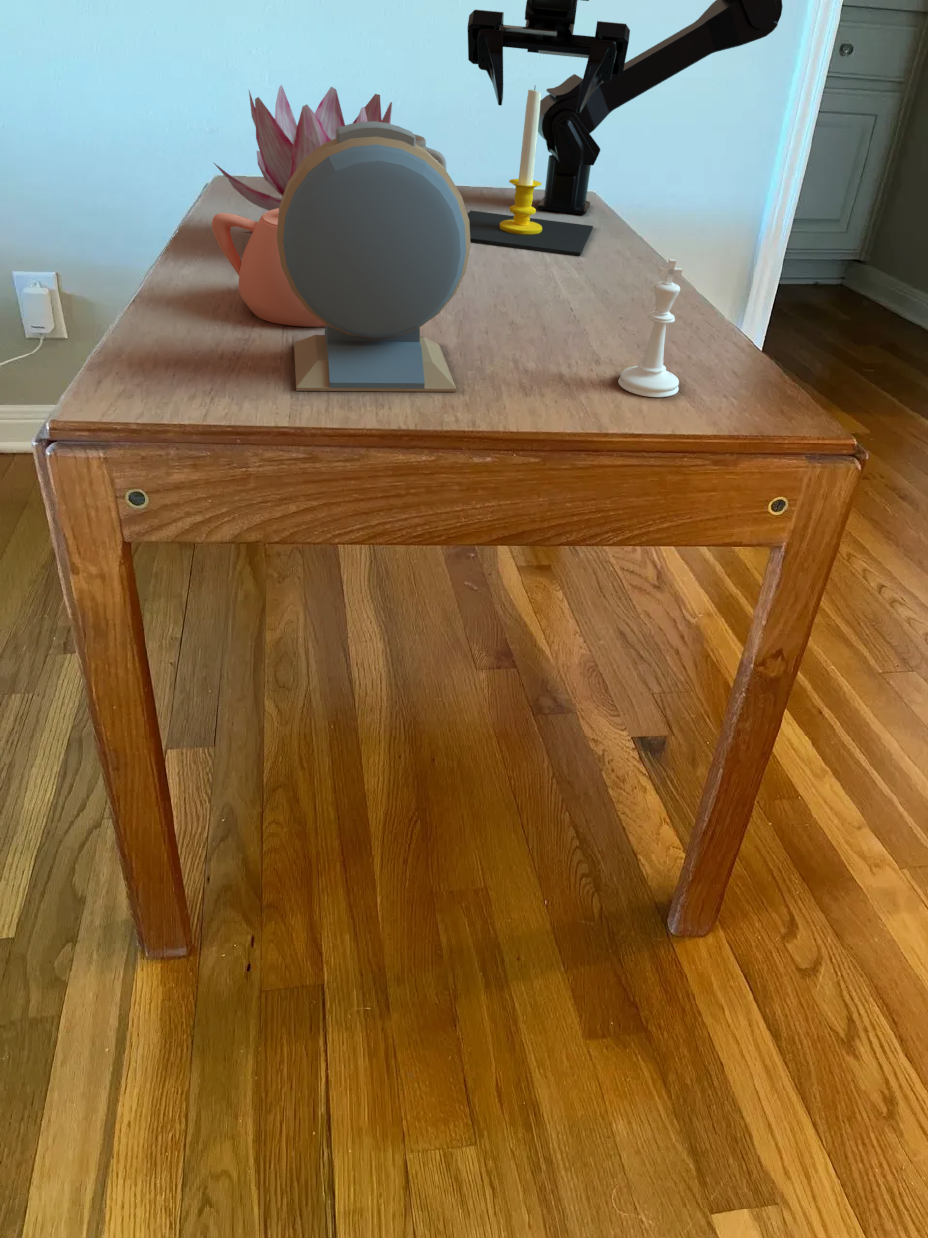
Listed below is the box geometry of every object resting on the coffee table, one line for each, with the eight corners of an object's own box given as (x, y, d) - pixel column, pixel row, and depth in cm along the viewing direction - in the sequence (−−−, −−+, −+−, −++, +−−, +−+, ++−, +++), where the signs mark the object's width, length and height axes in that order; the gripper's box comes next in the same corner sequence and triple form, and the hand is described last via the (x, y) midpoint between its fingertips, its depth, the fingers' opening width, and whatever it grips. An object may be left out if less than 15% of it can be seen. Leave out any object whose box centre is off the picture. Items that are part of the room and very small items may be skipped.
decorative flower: (182, 258, 97) (166, 92, 89) (280, 217, 114) (274, 74, 106) (374, 292, 93) (377, 120, 84) (447, 244, 109) (456, 96, 101)
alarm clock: (450, 347, 82) (465, 117, 71) (469, 391, 74) (488, 140, 64) (281, 345, 79) (272, 106, 69) (282, 390, 71) (271, 129, 61)
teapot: (231, 282, 92) (223, 176, 86) (416, 296, 93) (420, 192, 87) (202, 323, 82) (192, 206, 77) (410, 338, 83) (415, 223, 77)
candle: (516, 221, 119) (529, 80, 110) (550, 230, 117) (567, 86, 108) (490, 227, 116) (503, 82, 107) (525, 236, 113) (540, 88, 104)
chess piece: (612, 373, 79) (633, 249, 74) (669, 375, 80) (694, 252, 74) (625, 396, 75) (648, 267, 70) (685, 398, 76) (713, 270, 70)
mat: (470, 213, 123) (470, 210, 123) (592, 228, 121) (593, 225, 121) (445, 238, 112) (445, 234, 111) (580, 255, 110) (580, 252, 109)
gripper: (476, -78, 106) (457, 45, 103) (643, -62, 105) (629, 62, 102) (477, 4, 117) (460, 116, 114) (628, 18, 116) (615, 132, 113)
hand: (539, 106), depth 110 cm, fingers open, 9 cm apart
